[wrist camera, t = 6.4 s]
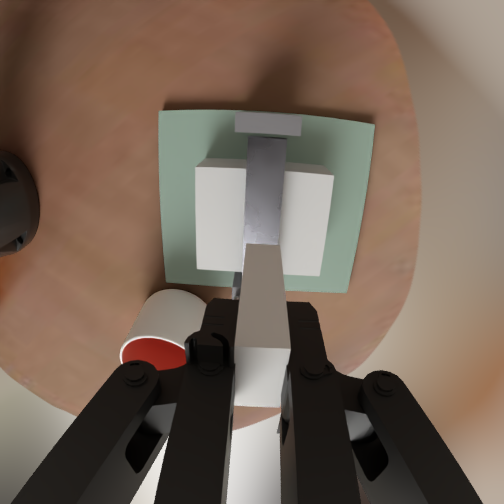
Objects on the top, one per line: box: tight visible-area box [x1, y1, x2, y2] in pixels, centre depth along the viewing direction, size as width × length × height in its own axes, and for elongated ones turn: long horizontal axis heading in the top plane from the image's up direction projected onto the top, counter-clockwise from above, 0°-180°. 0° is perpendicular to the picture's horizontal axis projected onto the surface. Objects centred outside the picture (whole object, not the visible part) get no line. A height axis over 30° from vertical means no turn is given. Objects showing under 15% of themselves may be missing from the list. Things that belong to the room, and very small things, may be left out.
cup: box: [120, 289, 207, 370], centre depth 36 cm, size 10×10×10 cm
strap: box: [234, 136, 287, 300], centre depth 27 cm, size 4×17×1 cm, turn 177°
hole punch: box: [159, 110, 375, 299], centre depth 30 cm, size 22×20×9 cm
